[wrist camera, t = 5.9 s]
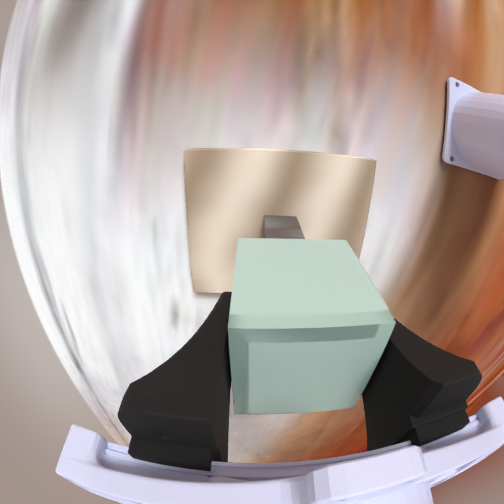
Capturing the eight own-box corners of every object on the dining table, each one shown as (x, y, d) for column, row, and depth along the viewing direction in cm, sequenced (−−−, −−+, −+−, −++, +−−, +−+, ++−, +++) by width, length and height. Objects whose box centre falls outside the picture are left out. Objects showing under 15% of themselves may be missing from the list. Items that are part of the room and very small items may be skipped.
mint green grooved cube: (345, 239, 13) (396, 322, 8) (329, 320, 15) (353, 407, 10) (238, 238, 13) (227, 328, 8) (240, 321, 15) (234, 413, 10)
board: (371, 159, 19) (405, 174, 14) (347, 288, 24) (365, 328, 20) (187, 148, 19) (164, 160, 14) (195, 285, 24) (183, 326, 20)
